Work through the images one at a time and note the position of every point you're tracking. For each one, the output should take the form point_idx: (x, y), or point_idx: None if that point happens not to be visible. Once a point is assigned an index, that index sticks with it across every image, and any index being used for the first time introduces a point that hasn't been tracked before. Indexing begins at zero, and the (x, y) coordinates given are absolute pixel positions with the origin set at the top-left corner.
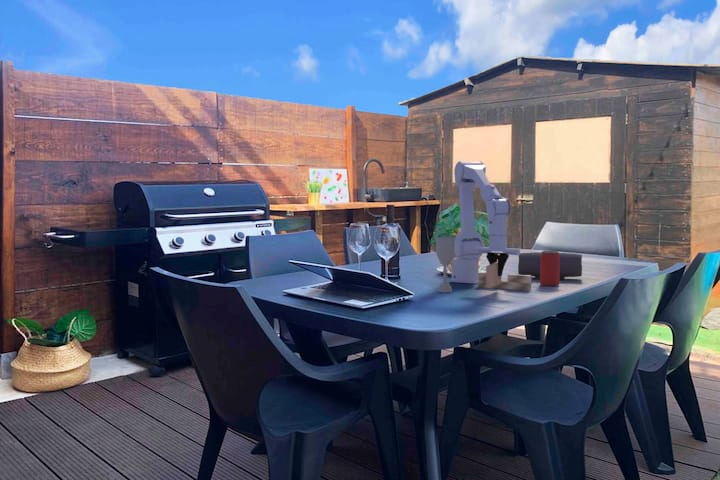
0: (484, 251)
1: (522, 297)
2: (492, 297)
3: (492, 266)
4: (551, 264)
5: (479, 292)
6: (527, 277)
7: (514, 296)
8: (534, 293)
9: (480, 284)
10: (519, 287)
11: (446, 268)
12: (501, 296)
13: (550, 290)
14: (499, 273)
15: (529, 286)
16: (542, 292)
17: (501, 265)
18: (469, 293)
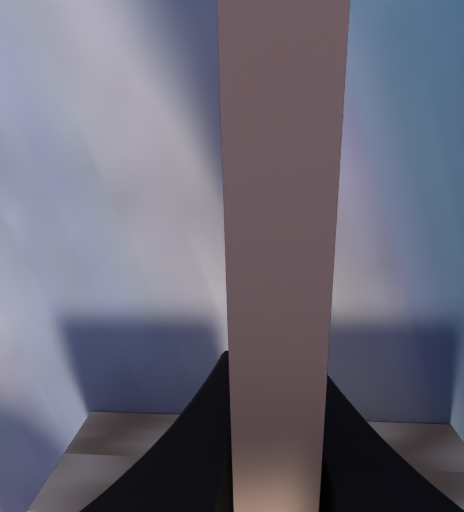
0: None
1: (11, 155)
2: (205, 16)
3: (222, 87)
4: None
5: (383, 208)
6: (54, 499)
7: (77, 167)
8: (27, 345)
9: (443, 440)
10: (148, 427)
11: None
12: (159, 112)
13: (6, 467)
14: (222, 362)
15: (76, 434)
16: (7, 395)
17: (156, 442)
18: (458, 114)
